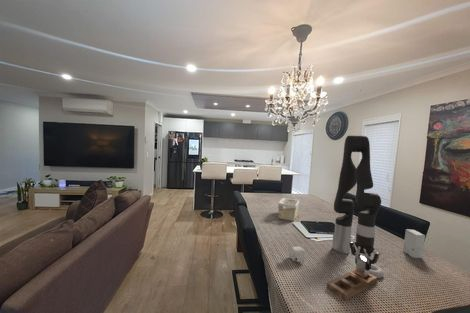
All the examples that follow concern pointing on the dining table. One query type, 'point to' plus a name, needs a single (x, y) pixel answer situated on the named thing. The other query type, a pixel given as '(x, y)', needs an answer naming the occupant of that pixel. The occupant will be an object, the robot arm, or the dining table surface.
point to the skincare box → (414, 243)
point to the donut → (376, 271)
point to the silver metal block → (361, 266)
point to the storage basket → (288, 209)
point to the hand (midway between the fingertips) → (362, 267)
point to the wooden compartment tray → (350, 284)
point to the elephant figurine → (297, 253)
